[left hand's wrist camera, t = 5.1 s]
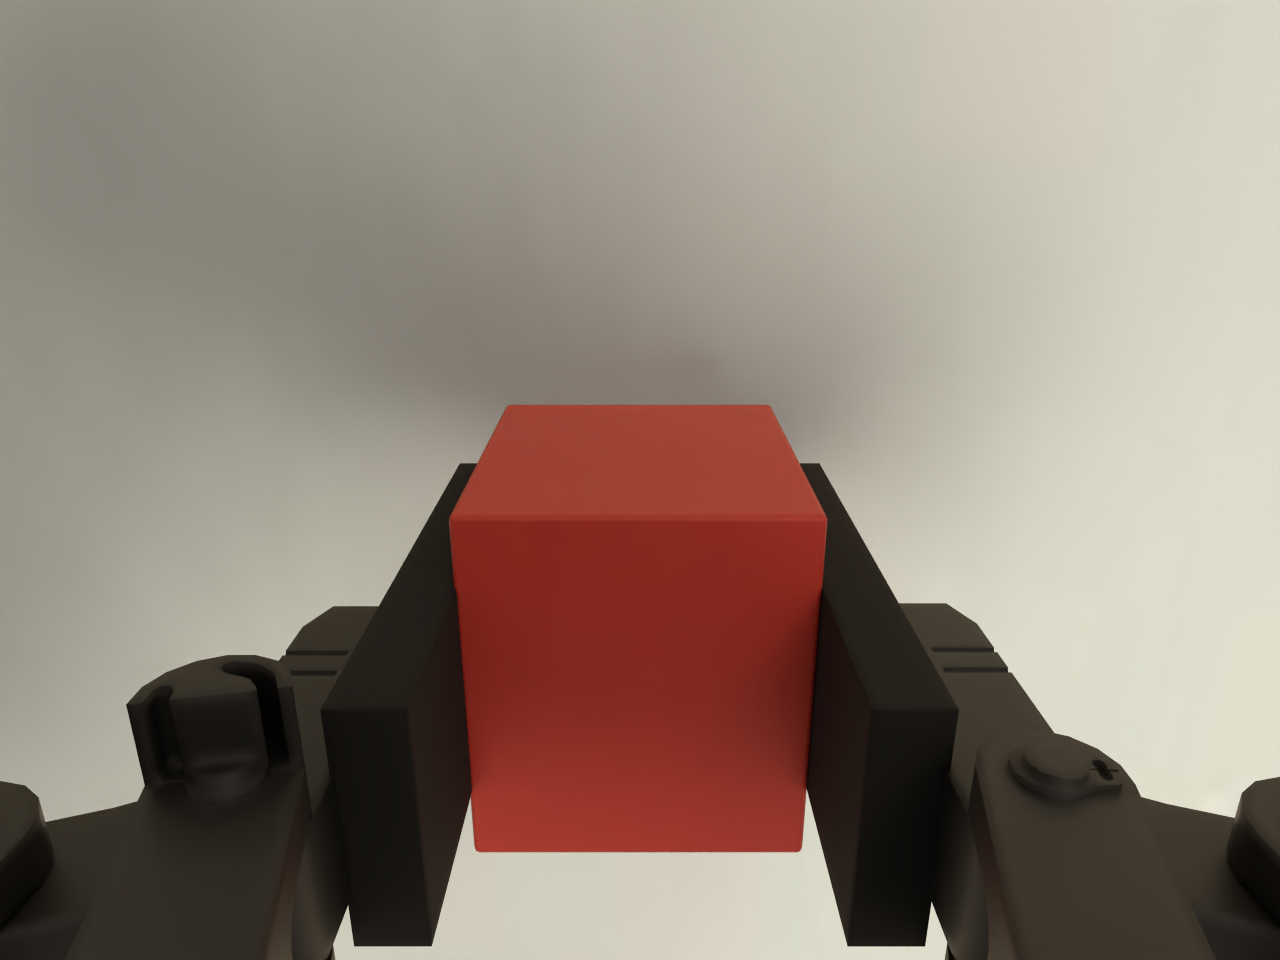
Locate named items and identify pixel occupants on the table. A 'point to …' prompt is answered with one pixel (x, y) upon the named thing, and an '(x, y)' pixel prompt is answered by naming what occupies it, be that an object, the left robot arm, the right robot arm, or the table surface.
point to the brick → (638, 629)
